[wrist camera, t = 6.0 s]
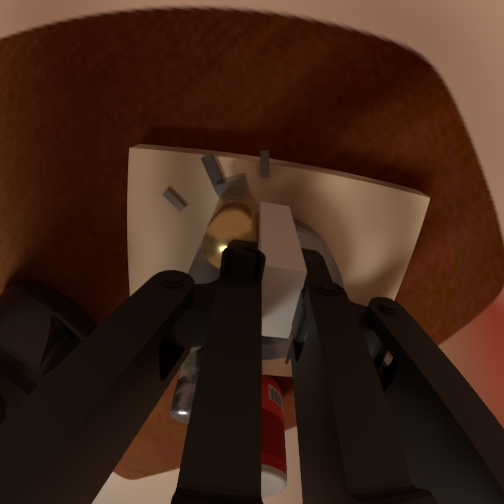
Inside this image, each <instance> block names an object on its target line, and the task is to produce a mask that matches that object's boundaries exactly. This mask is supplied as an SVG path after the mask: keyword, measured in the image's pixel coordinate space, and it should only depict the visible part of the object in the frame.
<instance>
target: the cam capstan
mask: <svg viewBox="0 0 504 504" xmlns="http://www.w3.org/2000/svg"><path fill="white" fill-rule="evenodd" d="M215 187H216V190H217V194H218V197H219V200H218V202H217V205H216V207H215V210H214V212H213V215H212V217H211V220H210V223H209V225H208V228H207V230H206V233H205V236H204V238H203V242H202V243H201V245H200V246H199V248H198V250H197V252H196V254H195V256H194V259H193V261H192V264H191V266H190V269H189V272H188V274H189V275H190V276H191V277H192V278H193V279H194V282H195V284H204V283H210V282H213V281H215V280H217V279H218V278H219V274H220V266H221V257H222V251H223V250H224V248H226V247H227V245H228V243H229V242H231V241H232V240H233V239H237V240H244V241H251V242H257V241H258V237H257V221H258V215H259V213H257V202H256V200H255V198H254V196H253V195H252V194H251V192H250V189H249V185H248V181H247V178H246V174H245V173H242V174H238V175H234V176H230V177H227V178H223V179H219V180H218V181H217V183H216V185H215ZM293 221H294V225H295V228H296V232H297V235H298V239H299V243H300V246H301V248H304V249H311V250H317V251H318V252H319V253H320V254H321V255H322V256H323V257H324V260H325V262H326V265H327V267H328V270H329V273H330V275H331V278H332V281H333V282H334V283H337V284H339V285H340V286H341V287H343V288H344V285H343V280H342V276H341V273H340V271H339V268H338V266H337V264H336V262H335V259H334V257H333V255H332V253H331V251H330V249H329V247H328V246H327V244H326V242H325V241H324V240H323V239H322V237H321V236H320V235H319V234H318V233H317V232H316V231H315V230H313V229H312V228H311V227H309V226H308V225H306V224H305V223H303V222H301V221H299V220H297V219H294V218H293ZM292 337H293V331H292V329H291V332H290V335H289V339H288V338H278V337H269V336H262V360H273V359H280V358H284V357H287V354H288V351H289V347H290V344H291V341H292ZM203 348H204V346H202V347H191V350H190V353H189V355H188V356H187V358H186V359H185V361H184V362H183V364H182V366H181V368H180V372H179V376H178V380H177V385H176V389H175V393H174V397H173V401H172V405H171V409H170V414H171V416H172V417H173V418H174V419H175V420H177V421H179V422H181V423H184V424H188V423H189V418H190V413H191V408H192V403H193V398H194V392H195V387H196V383H197V378H198V373H199V368H200V363H201V358H202V353H203ZM392 359H393V358H392V356H391V354H390V352H389V351H388V353H387V355H386V357H385V358H384V361H385V362H386V363H387V364H388V365H389V364H390V363H391V361H392Z"/></svg>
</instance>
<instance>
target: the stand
mask: <svg viewBox="0 0 504 504" xmlns="http://www.w3.org/2000/svg"><path fill="white" fill-rule="evenodd" d="M242 173H245V174H246V178H247V181H248V185H249V189H250V192H251V194H252V195H253V196H254V198H255V200H256V202H257V213H259V209H260V203H261V202H266V203H273V204H279V205H285V206H289V207H290V210H291V214H292V217H293V218H294V219H297V220H299V221H301V222H303V223H305V224H306V225H308V226H309V227H311V228H312V229H313V230H315V231H316V232H317V233H318V234H319V235H320V236H321V237H322V239H323V240H324V241H325V242H326V244H327V246H328V247H329V249H330V251H331V253H332V255H333V257H334V259H335V262H336V264H337V266H338V268H339V271H340V273H341V276H342V280H343V285H344V290H345V291H346V293H347V295H348V298H349V300H350V301H352V302H354V303H357V304H360V305H364V306H368V304H369V301H370V300H371V299H372V298H374V297H387V298H390V299H393V300H394V299H395V297H396V295H397V292H398V290H399V287H400V285H401V282H402V280H403V277H404V275H405V272H406V269H407V267H408V264H409V261H410V259H411V256H412V253H413V250H414V247H415V245H416V242H417V239H418V236H419V233H420V230H421V227H422V224H423V221H424V217H425V214H426V211H427V208H428V204H429V201H430V197H428V196H427V195H425V194H423V193H422V192H420V191H419V190H416V189H412V188H409V187H405V186H401V185H397V184H393V183H389V182H385V181H381V180H376V179H372V178H368V177H364V176H359V175H355V174H350V173H345V172H341V171H336V170H331V169H326V168H321V167H316V166H310V165H305V164H299V163H294V162H288V161H282V160H276V159H270V158H269V150H260V157H256V156H250V155H243V154H235V153H228V152H220V151H211V150H202V149H193V148H183V147H172V146H161V145H147V144H139V145H136V146H134V147H131V148H129V163H128V193H127V240H128V269H129V288H130V296H131V295H132V294H133V293H134V292H136V291H137V290H138V289H139V288H140V287H141V286H142V285H143V284H144V283H145V282H147V281H148V280H149V279H150V278H151V277H152V276H153V275H155V274H157V273H158V272H161V271H165V270H177V271H182V272H184V273H187V274H188V272H189V269H190V266H191V264H192V261H193V259H194V256H195V254H196V252H197V250H198V248H199V246H200V245H201V243H202V242H203V238H204V236H205V233H206V230H207V228H208V225H209V223H210V220H211V217H212V215H213V212H214V210H215V207H216V205H217V202H218V200H219V197H218V194H217V190H216V187H215V185H216V183H217V181H218V180H219V179H223V178H227V177H230V176H234V175H238V174H242ZM285 361H286V357H284V358H280V359H273V360H262V374H263V375H274V376H286V377H292V366H291V359H289V363H288V364H285Z"/></svg>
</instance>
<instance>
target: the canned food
mask: <svg viewBox="0 0 504 504" xmlns="http://www.w3.org/2000/svg"><path fill="white" fill-rule="evenodd" d="M286 471H287V465H286V449H285V434H284V419H283V405H282V392H281V390H280V387H279V385H278V383H277V382H276V380H275V379H274V378H273V377H272V376H271V375H263V374H262V463H261V497H267V496H271V495H274V494H276V493H278V492H281V491H282V490H283V489H285V487H286V481H287V472H286Z"/></svg>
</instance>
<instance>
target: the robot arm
mask: <svg viewBox="0 0 504 504" xmlns="http://www.w3.org/2000/svg"><path fill="white" fill-rule="evenodd" d="M257 237H258V241H257V242H251V241H244V240H237V239H233V240H232V241H231V242H229V243H228V245H227V247H226V248H224V250H223V251H222V257H221V266H220V274H219V278H218V279H217V280H215V281H213V282H210V283H204V284H195V282H194V279H193V278H192V277H191V276H190V275H189V274H187V273H184V272H182V271H177V270H165V271H161V272H158V273H157V274H155V275H153V276H152V277H151V278H150V279H149V280H148V281H147V282H145V283H144V284H143V285H142V286H141V287H140V288H139V289H138V290H137V291H136V292H134V293H133V294H132V295H131V296H130V297H129V298H128V299H127V300H126V301H125V302H124V303H122V304H121V305H120V306H119V307H118V308H117V309H116V310H115V311H114V312H113V313H112V314H111V315H110V316H109V317H107V318H106V319H105V320H104V321H103V322H102V323H101V324H100V325H99V326H98V327H96V326H95V325H94V323H93V322H92V321H91V320H90V319H89V318H88V317H87V315H86V314H85V313H84V312H83V311H81V310H80V309H79V308H78V307H77V306H76V305H75V304H74V303H72V302H71V301H70V300H68V299H67V298H66V297H64V296H63V295H61V294H60V293H58V292H56V291H54V290H52V289H51V288H48V287H46V286H44V285H41V284H38V283H33V282H17V283H14V284H12V285H10V286H9V287H8V288H7V289H6V290H5V291H4V292H3V293H2V294H1V295H0V504H91V503H92V502H93V500H94V499H95V498H96V496H97V495H98V493H99V491H100V490H101V488H102V487H103V485H104V484H105V482H106V481H107V479H108V478H109V476H110V474H111V473H112V472H113V470H114V469H115V467H116V465H117V464H118V462H119V461H120V459H121V458H122V456H123V455H124V453H125V452H126V450H127V449H128V447H129V446H130V444H131V442H132V441H133V439H134V438H135V436H136V435H137V433H138V432H139V430H140V429H141V427H142V426H143V424H144V422H145V421H146V419H147V418H148V416H149V415H150V413H151V412H152V410H153V409H154V407H155V406H156V404H157V402H158V401H159V399H160V398H161V396H162V395H163V393H164V392H165V390H166V389H167V387H168V386H169V384H170V382H171V381H172V379H173V378H174V376H175V375H176V373H177V372H178V370H179V369H180V367H181V366H182V364H183V362H184V361H185V359H186V358H187V356H188V355H189V353H190V350H191V347H202V346H204V348H203V353H202V358H201V363H200V368H199V373H198V378H197V383H196V387H195V392H194V398H193V403H192V408H191V413H190V418H189V423H188V428H187V434H186V439H185V444H184V450H183V455H182V461H181V466H180V472H179V478H178V483H177V488H176V491H175V493H174V495H173V497H172V500H171V504H263V502H262V497H261V463H262V336H269V337H278V338H288V339H289V335H290V332H291V329H292V331H293V337H292V341H291V344H290V347H289V351H288V354H287V357H286V361H285V364H288V363H289V359H291V366H292V377H293V387H294V398H295V409H296V420H297V430H298V431H297V432H298V444H299V457H300V470H301V484H302V498H303V504H504V429H503V427H502V426H501V424H500V423H499V422H498V420H497V419H496V418H495V416H494V415H493V414H492V412H491V411H490V410H489V409H488V407H487V406H486V405H485V403H484V402H483V401H482V399H481V398H480V397H479V396H478V394H477V393H476V392H475V391H474V389H473V388H472V387H471V386H470V385H469V383H468V382H467V381H466V379H465V378H464V377H463V376H462V375H461V373H460V372H459V371H458V370H457V368H456V367H455V366H454V365H453V364H452V363H451V361H450V360H449V359H448V358H447V357H446V355H445V354H444V353H443V352H442V351H441V349H440V348H439V347H438V346H437V345H436V344H435V343H434V341H433V340H432V339H431V338H430V337H429V336H428V334H427V333H426V332H425V331H424V330H423V329H422V328H421V327H420V325H419V324H418V323H417V322H416V321H415V320H414V319H413V318H412V317H411V315H410V314H409V313H408V312H407V311H406V310H405V309H404V308H403V307H402V306H401V305H400V304H399V303H397V302H395V301H394V300H393V299H390V298H387V297H374V298H372V299H371V300H370V301H369V304H368V306H364V305H360V304H357V303H354V302H352V301H350V300H349V298H348V295H347V293H346V291H345V290H344V288H343V287H341V286H340V285H339V284H337V283H334V282H333V281H332V278H331V275H330V273H329V270H328V267H327V265H326V262H325V260H324V257H323V256H322V255H321V254H320V253H319V252H318V251H317V250H311V249H304V248H301V246H300V243H299V239H298V235H297V232H296V228H295V225H294V221H293V217H292V214H291V210H290V207H289V206H285V205H279V204H273V203H266V202H261V203H260V209H259V215H258V221H257ZM388 351H389V352H390V354H391V355H392V356H393V359H392V361H391V363H390V364H389V365H388V364H387V363H386V362H385V361H384V358H385V357H386V355H387V353H388Z"/></svg>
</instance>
